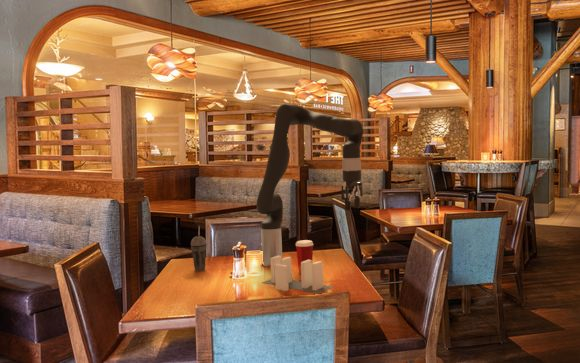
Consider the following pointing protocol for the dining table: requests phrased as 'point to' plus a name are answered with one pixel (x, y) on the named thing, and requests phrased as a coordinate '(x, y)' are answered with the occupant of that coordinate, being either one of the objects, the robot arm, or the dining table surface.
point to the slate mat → (298, 286)
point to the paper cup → (304, 251)
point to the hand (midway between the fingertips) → (352, 209)
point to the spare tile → (281, 277)
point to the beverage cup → (199, 252)
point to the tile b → (288, 262)
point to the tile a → (274, 261)
